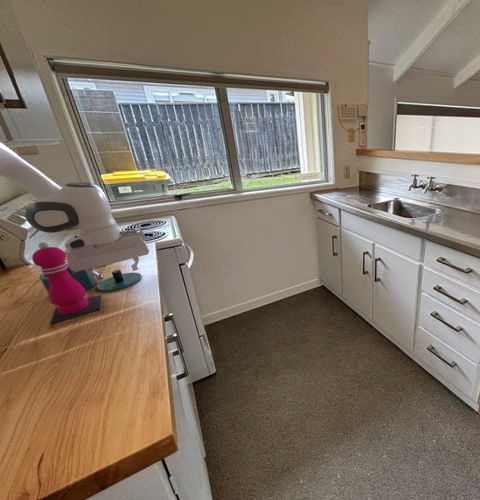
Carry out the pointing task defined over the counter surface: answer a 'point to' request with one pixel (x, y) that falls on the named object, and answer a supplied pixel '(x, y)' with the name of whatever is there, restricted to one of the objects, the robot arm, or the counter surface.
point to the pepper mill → (60, 280)
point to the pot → (81, 277)
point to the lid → (119, 281)
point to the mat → (92, 307)
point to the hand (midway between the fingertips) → (118, 274)
